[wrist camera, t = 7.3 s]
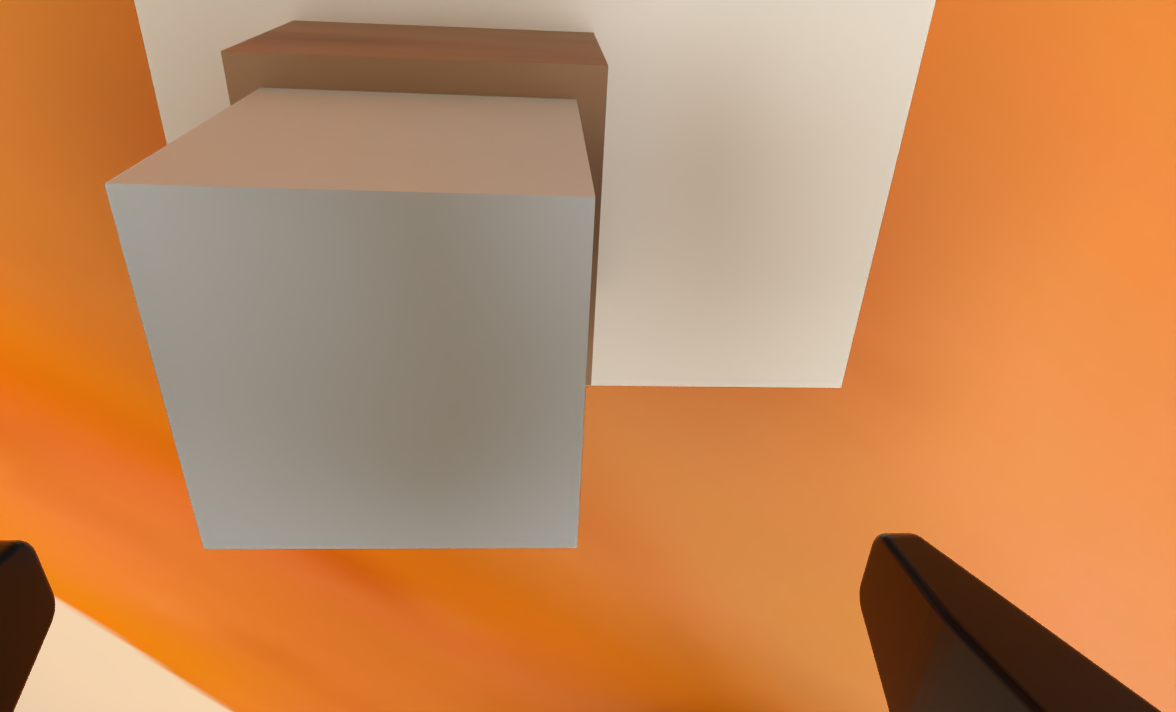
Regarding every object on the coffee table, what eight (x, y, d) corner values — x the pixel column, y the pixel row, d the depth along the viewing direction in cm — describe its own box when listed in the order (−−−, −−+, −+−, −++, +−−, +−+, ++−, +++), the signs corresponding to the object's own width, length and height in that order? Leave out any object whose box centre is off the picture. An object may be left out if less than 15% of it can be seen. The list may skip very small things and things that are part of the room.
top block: (566, 364, 15) (577, 547, 11) (304, 361, 15) (203, 549, 10) (576, 99, 12) (595, 197, 8) (260, 87, 12) (103, 183, 8)
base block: (581, 298, 19) (591, 385, 15) (330, 293, 18) (281, 382, 15) (593, 32, 16) (608, 65, 12) (293, 20, 15) (221, 50, 12)
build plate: (828, 368, 21) (840, 387, 20) (234, 362, 20) (221, 382, 19) (935, -91, 16) (957, -92, 15) (128, -134, 15) (103, -137, 14)
